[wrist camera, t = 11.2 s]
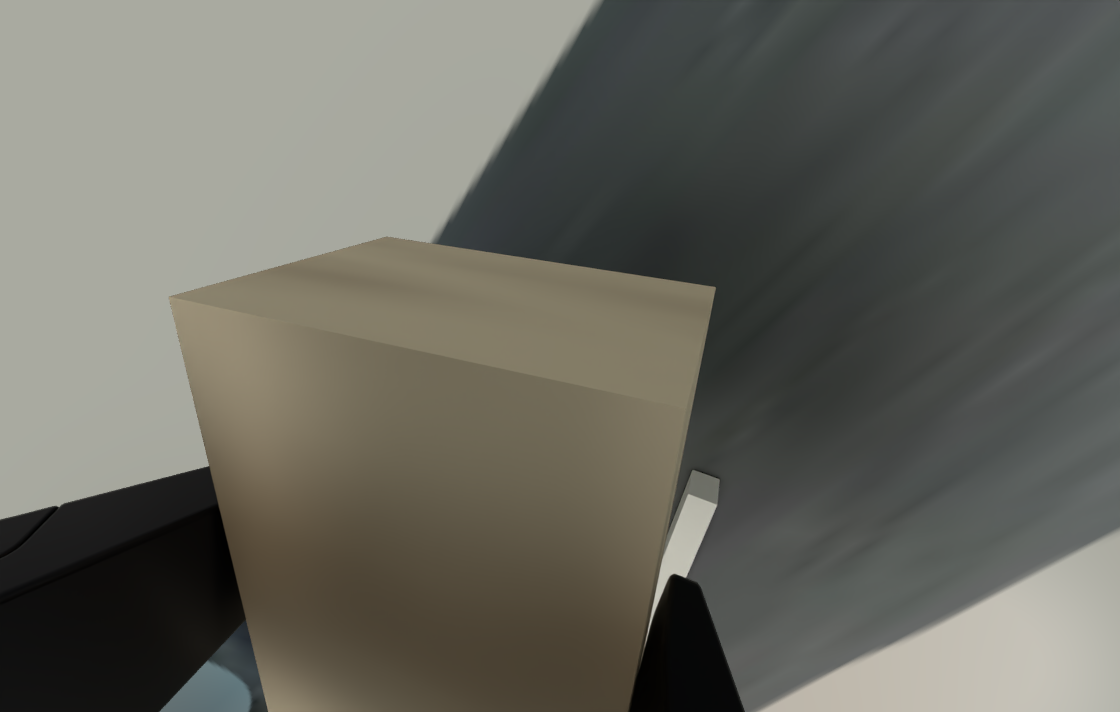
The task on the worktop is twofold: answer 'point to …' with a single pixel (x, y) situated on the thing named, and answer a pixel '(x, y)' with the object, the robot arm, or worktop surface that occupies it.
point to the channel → (687, 529)
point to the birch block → (444, 471)
